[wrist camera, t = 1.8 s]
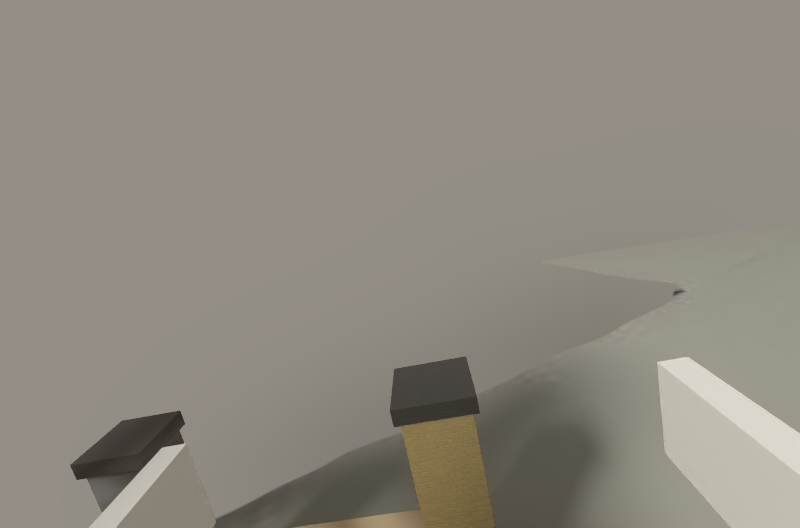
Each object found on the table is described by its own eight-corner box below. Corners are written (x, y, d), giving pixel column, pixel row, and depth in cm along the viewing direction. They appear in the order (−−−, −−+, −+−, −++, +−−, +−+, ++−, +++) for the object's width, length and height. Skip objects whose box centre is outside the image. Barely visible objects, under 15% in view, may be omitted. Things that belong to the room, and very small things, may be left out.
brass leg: (439, 614, 24) (389, 410, 21) (435, 545, 29) (394, 368, 26) (515, 605, 24) (476, 396, 21) (499, 536, 29) (465, 356, 26)
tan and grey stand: (103, 758, 23) (-18, 526, 20) (208, 559, 35) (144, 392, 31) (494, 718, 21) (437, 455, 18) (466, 523, 33) (428, 341, 29)
